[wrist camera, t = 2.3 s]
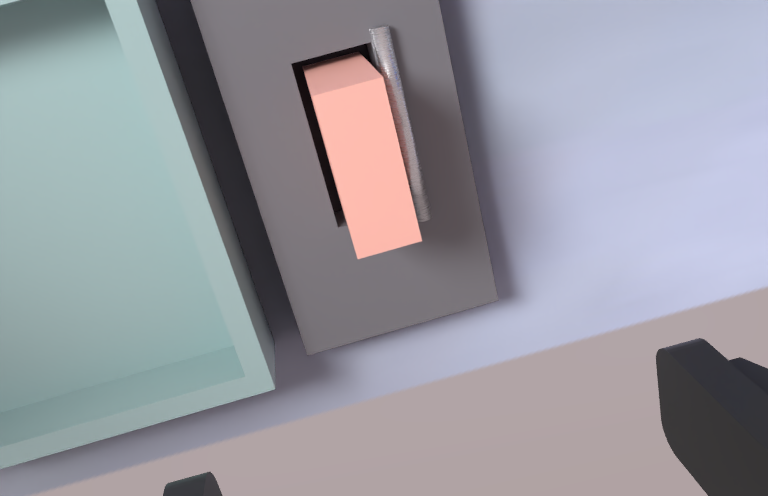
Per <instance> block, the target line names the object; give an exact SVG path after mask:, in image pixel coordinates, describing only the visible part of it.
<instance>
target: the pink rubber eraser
mask: <svg viewBox="0 0 768 496" xmlns="http://www.w3.org/2000/svg"><path fill="white" fill-rule="evenodd" d="M302 67H303V71H304V74H305V78H306V81H307V85H308V89H309V92H310V96H311V99H312V103H313V106H314V110H315V114H316V117H317V121H318V124H319V128H320V131H321V135H322V138H323V142H324V146H325V149H326V153H327V156H328V160H329V163H330V167H331V171H332V174H333V178H334V181H335V185H336V188H337V192H338V195H339V199H340V202H341V206H342V209H343V212H344V216H345V219H346V222H347V225H348V229H349V232H350V235H351V239H352V242H353V245H354V249H355V252H356V255H357V259H361V258H364V257H368V256H371V255H375V254H378V253H382V252H385V251H389V250H393V249H396V248H400V247H403V246H407V245H410V244H414V243H417V242H421V241H422V238H421V234H420V230H419V226H418V221H417V217H416V213H415V209H414V205H413V200H412V196H411V192H410V188H409V184H408V179H407V175H406V171H405V167H404V163H403V158H402V154H401V150H400V146H399V142H398V137H397V133H396V129H395V125H394V121H393V116H392V112H391V108H390V104H389V100H388V95H387V91H386V87H385V83H384V79H383V76H382V75H381V74H380V73H379V72H378V71H377V70H376V69H375V68H374V67H373V66H372V65H371V64H370V63H369V62H368V61H367V60H366V59H365V58H364V57H363V56H362V55H361V54H360V53H359V52H354V53H350V54H347V55H343V56H339V57H336V58H332V59H328V60H325V61H321V62H317V63H313V64H310V65H306V66H302Z"/></svg>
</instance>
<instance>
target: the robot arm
mask: <svg viewBox="0 0 768 496" xmlns="http://www.w3.org/2000/svg"><path fill="white" fill-rule="evenodd" d="M656 364H657V376H658V388H659V399H660V410H661V421H662V426H663V430H664V433H665V436H666V438H667V441H668V443H669V445H670V447H671V449H672V451H673V452H674V454H675V455H676V456H677V458H678V459H679V460H680V461H681V463H682V464H683V465H684V466H685V468H686V469H687V470H688V471H689V473H690V474H691V475H692V476H693V477H694V479H695V480H696V481H697V482H698V483H699V485H700V486H701V487H702V489H703V490H704V491H705V492H706V493H707V495H708V496H768V369H767V368H765V367H762V366H760V365H758V364H755V363H752V362H750V361H748V360H745V359H743V358H736V359H732V360H729V361H728V360H727V359H726V358H725V357H724V356H723V355H722V354H720V353H719V352H718V351H717V350H716V349H715V348H714V347H713V346H711V345H710V344H709V343H708V342H707V341H705V340H704V339H700V338H699V339H695V340H691V341H688V342H684V343H680V344H677V345H673V346H669V347H666V348H662V349H659V350H658V352H657V355H656ZM163 496H222V494H221V491H220V489H219V486H218V484H217V481H216V479H215V477H214V475H213V474H212V473H211V472H207V473H203V474H200V475H196V476H193V477H189V478H185V479H182V480H178V481H175V482H171V483H168V484H167V485H166V486H165V489H164V494H163Z"/></svg>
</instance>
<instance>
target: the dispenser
mask: <svg viewBox="0 0 768 496" xmlns="http://www.w3.org/2000/svg"><path fill="white" fill-rule="evenodd" d="M190 1H191V4H192V7H193V10H194V13H195V16H196V19H197V22H198V25H199V28H200V31H201V34H202V37H203V40H204V43H205V46H206V50H207V53H208V56H209V59H210V62H211V65H212V68H213V71H214V74H215V77H216V80H217V83H218V86H219V89H220V92H221V95H222V98H223V101H224V104H225V107H226V110H227V113H228V116H229V119H230V122H231V125H232V128H233V131H234V134H235V138H236V141H237V144H238V147H239V150H240V153H241V156H242V159H243V162H244V165H245V168H246V171H247V174H248V177H249V180H250V183H251V186H252V189H253V192H254V195H255V198H256V201H257V204H258V207H259V210H260V213H261V216H262V219H263V222H264V226H265V229H266V232H267V235H268V238H269V241H270V244H271V247H272V250H273V253H274V256H275V259H276V262H277V265H278V268H279V271H280V274H281V277H282V280H283V283H284V286H285V289H286V292H287V295H288V298H289V301H290V304H291V307H292V310H293V314H294V317H295V320H296V323H297V326H298V329H299V332H300V335H301V338H302V341H303V344H304V347H305V350H306V353H307V356H308V355H312V354H315V353H318V352H322V351H325V350H329V349H332V348H336V347H339V346H343V345H346V344H350V343H353V342H357V341H360V340H363V339H367V338H370V337H374V336H377V335H381V334H384V333H388V332H391V331H395V330H398V329H401V328H405V327H408V326H412V325H415V324H419V323H422V322H426V321H429V320H433V319H436V318H440V317H443V316H446V315H450V314H453V313H457V312H460V311H464V310H467V309H471V308H474V307H478V306H481V305H485V304H488V303H491V302H495V301H498V295H497V290H496V285H495V280H494V275H493V270H492V265H491V260H490V255H489V250H488V245H487V240H486V235H485V230H484V225H483V220H482V215H481V210H480V205H479V200H478V195H477V190H476V185H475V180H474V175H473V170H472V165H471V160H470V155H469V150H468V145H467V140H466V135H465V130H464V125H463V120H462V115H461V110H460V105H459V100H458V95H457V90H456V85H455V80H454V75H453V70H452V65H451V60H450V55H449V50H448V45H447V40H446V35H445V30H444V25H443V20H442V15H441V10H440V5H439V0H190ZM362 44H367V48H368V52H369V56H370V60H371V65H372V66H373V67H374V68H375V69H376V70H377V71H378V72H379V73H380V74H381V75H382V76H383V79H384V83H385V87H386V91H387V95H388V100H389V104H390V108H391V112H392V116H393V121H394V125H395V129H396V133H397V137H398V142H399V146H400V150H401V154H402V158H403V163H404V167H405V171H406V175H407V179H408V184H409V188H410V192H411V196H412V200H413V205H414V209H415V213H416V217H417V221H418V226H419V230H420V234H421V238H422V241H421V242H417V243H414V244H410V245H407V246H403V247H400V248H396V249H393V250H389V251H385V252H382V253H378V254H375V255H371V256H368V257H364V258H361V259H357V255H356V252H355V249H354V245H353V242H352V239H351V235H350V232H349V229H348V225H347V222H346V219H345V216H344V212H343V210H342V211H338V212H335V213H334V211H333V207H332V204H331V200H330V197H329V193H328V190H327V186H326V183H325V179H324V176H323V172H322V169H321V165H320V162H319V158H318V155H317V151H316V148H315V144H314V141H313V137H312V134H311V130H310V127H309V123H308V120H307V116H306V113H305V109H304V106H303V102H302V99H301V95H300V92H299V88H298V85H297V81H296V78H295V75H294V71H293V68H292V63H296V62H299V61H303V60H307V59H310V58H314V57H318V56H322V55H325V54H329V53H333V52H336V51H340V50H344V49H348V48H351V47H355V46H359V45H362Z"/></svg>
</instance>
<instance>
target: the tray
mask: <svg viewBox="0 0 768 496" xmlns="http://www.w3.org/2000/svg"><path fill="white" fill-rule="evenodd" d="M275 389H276V384H275V343H274V340H273V337H272V334H271V332H270V329H269V326H268V323H267V320H266V317H265V314H264V311H263V309H262V306H261V303H260V300H259V297H258V294H257V291H256V288H255V286H254V283H253V280H252V277H251V274H250V271H249V268H248V265H247V263H246V260H245V257H244V254H243V251H242V248H241V245H240V243H239V240H238V237H237V234H236V231H235V228H234V225H233V222H232V220H231V217H230V214H229V211H228V208H227V205H226V202H225V199H224V197H223V194H222V191H221V188H220V185H219V182H218V179H217V176H216V174H215V171H214V168H213V165H212V162H211V159H210V156H209V153H208V151H207V148H206V145H205V142H204V139H203V136H202V133H201V130H200V128H199V125H198V122H197V119H196V116H195V113H194V110H193V107H192V105H191V102H190V99H189V96H188V93H187V90H186V87H185V84H184V82H183V79H182V76H181V73H180V70H179V67H178V64H177V61H176V59H175V56H174V53H173V50H172V47H171V44H170V41H169V38H168V36H167V33H166V30H165V27H164V24H163V21H162V18H161V15H160V13H159V10H158V7H157V4H156V1H155V0H0V469H3V468H7V467H10V466H13V465H17V464H20V463H24V462H27V461H31V460H34V459H37V458H41V457H44V456H48V455H51V454H55V453H58V452H62V451H65V450H68V449H72V448H75V447H79V446H82V445H86V444H89V443H93V442H96V441H99V440H103V439H106V438H110V437H113V436H117V435H120V434H123V433H127V432H130V431H134V430H137V429H141V428H144V427H148V426H151V425H154V424H158V423H161V422H165V421H168V420H172V419H175V418H179V417H182V416H185V415H189V414H192V413H196V412H199V411H203V410H206V409H209V408H213V407H216V406H220V405H223V404H227V403H230V402H234V401H237V400H240V399H244V398H247V397H251V396H254V395H258V394H261V393H265V392H268V391H271V390H275Z"/></svg>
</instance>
